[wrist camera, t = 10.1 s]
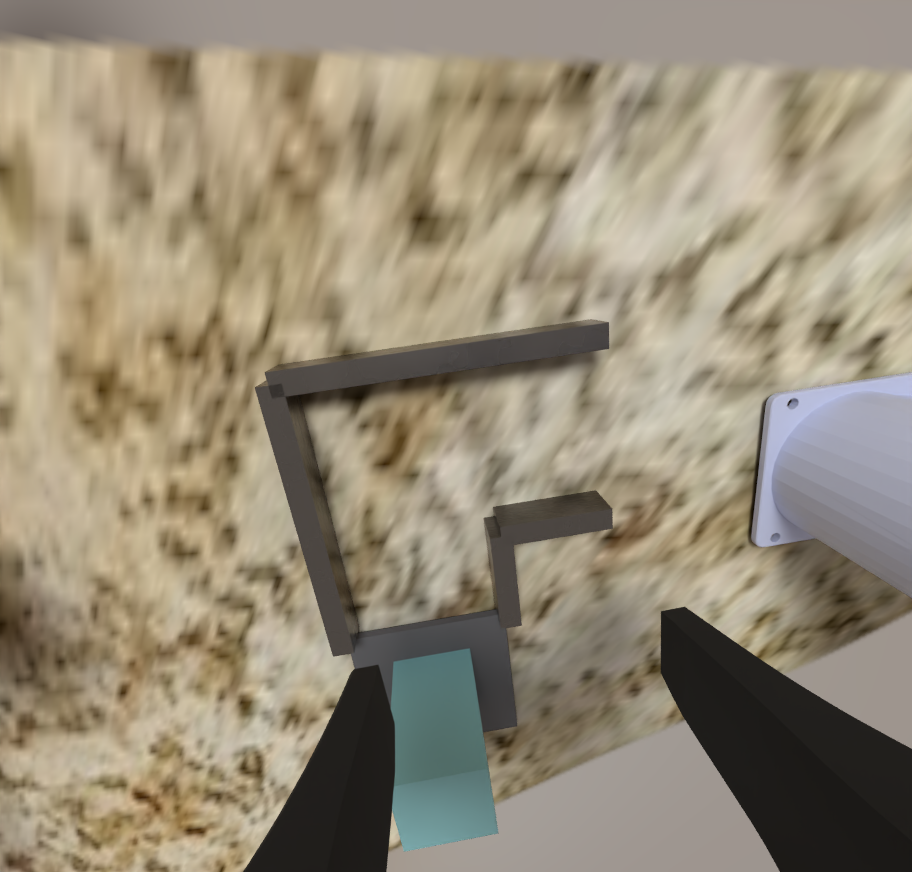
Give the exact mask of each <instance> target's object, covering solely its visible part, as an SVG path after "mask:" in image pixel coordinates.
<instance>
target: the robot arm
mask: <svg viewBox="0 0 912 872" xmlns="http://www.w3.org/2000/svg"><path fill="white" fill-rule="evenodd" d="M790 399H791V403H790V405H789V406H787V404H788V402H789V401H790ZM773 534H774V535H773ZM772 535H773V536H772ZM771 536H772V537H771ZM815 538H816V539H818V540H819V541H821V542H823V543H824V544H826V545H827V546H829V547H831V548H832V549H834V550H835V551H837V552H839V553H840V554H842V555H843V556H845V557H847V558H848V559H850V560H851V561H853V562H855V563H856V564H858V565H859V566H861V567H863V568H864V569H866V570H868V571H869V572H871V573H872V574H874V575H876V576H877V577H879V578H880V579H882V580H884V581H885V582H887V583H888V584H890V585H892V586H893V587H895V588H896V589H898V590H900V591H901V592H903V593H904V594H906V595H908V596H909V597H911V598H912V372H909V373H903V374H896V375H890V376H883V377H877V378H871V379H864V380H858V381H851V382H845V383H838V384H832V385H825V386H819V387H812V388H806V389H799V390H793V391H786V392H780V393H776V394H773V395H772V396H770V397H769V399H768V400H767V402H766V407H765V416H764V425H763V434H762V443H761V452H760V462H759V471H758V480H757V489H756V498H755V507H754V516H753V526H752V535H751V539H752V541H753V543H755V544H756V545H757V546H759V547H768V546H774V545H780V544H786V543H791V542H797V541H803V540H809V539H815ZM661 674H662V676H663V678H664V680H665V682H666V684H667V686H668V688H669V690H670V692H671V694H672V696H673V698H674V700H675V702H676V704H677V706H678V708H679V710H680V712H681V713H682V715H683V717H684V719H685V720H686V722H687V723H688V725H689V726H690V728H691V730H692V731H693V733H694V734H695V736H696V737H697V739H698V741H699V742H700V744H701V745H702V747H703V748H704V750H705V751H706V753H707V755H708V756H709V758H710V759H711V761H712V762H713V764H714V765H715V767H716V768H717V770H718V771H719V773H720V774H721V776H722V778H723V779H724V781H725V782H726V784H727V785H728V787H729V788H730V790H731V791H732V793H733V795H734V796H735V798H736V799H737V801H738V802H739V804H740V805H741V807H742V808H743V810H744V811H745V813H746V815H747V816H748V818H749V819H750V820H751V822H752V824H753V825H754V827H755V829H756V831H757V832H758V834H759V836H760V837H761V839H762V840H763V842H764V844H765V845H766V847H767V849H768V851H769V853H770V854H771V856H772V858H773V860H774V862H775V863H776V865H777V867H778V869H779V871H780V872H912V749H911V748H909V747H907V746H905V745H903V744H901V743H900V742H898V741H896V740H894V739H892V738H890V737H888V736H887V735H885V734H883V733H881V732H879V731H878V730H876V729H874V728H872V727H870V726H868V725H867V724H865V723H863V722H861V721H859V720H857V719H856V718H854V717H852V716H851V715H849V714H847V713H845V712H843V711H842V710H840V709H838V708H837V707H835V706H833V705H832V704H830V703H828V702H827V701H825V700H823V699H822V698H820V697H819V696H817V695H815V694H814V693H812V692H810V691H809V690H807V689H805V688H804V687H802V686H801V685H799V684H797V683H796V682H794V681H793V680H791V679H790V678H788V677H786V676H785V675H783V674H782V673H780V672H779V671H777V670H776V669H774V668H773V667H771V666H770V665H768V664H767V663H765V662H764V661H762V660H761V659H759V658H758V657H756V656H755V655H753V654H752V653H750V652H749V651H747V650H746V649H744V648H743V647H741V646H740V645H739V644H737V643H736V642H734V641H733V640H731V639H730V638H728V637H727V636H726V635H724V634H723V633H721V632H720V631H718V630H717V629H716V628H714V627H713V626H711V625H710V624H709V623H707V622H706V621H704V620H703V619H701V618H700V617H699V616H697V615H696V614H694V613H693V612H691V611H690V610H688V609H687V608H686V607H682V608H676V609H671V610H666V611H661ZM394 780H395V722H394V719H393V715H392V711H391V708H390V704H389V701H388V697H387V693H386V690H385V686H384V683H383V679H382V675H381V672H380V668H379V665H373V666H368V667H363V668H357V669H354V670H353V671H352V672H351V674H350V676H349V679H348V681H347V683H346V686H345V688H344V690H343V692H342V695H341V697H340V699H339V701H338V703H337V706H336V708H335V710H334V712H333V714H332V716H331V718H330V720H329V723H328V725H327V727H326V729H325V731H324V733H323V735H322V737H321V739H320V741H319V743H318V745H317V747H316V748H315V750H314V752H313V754H312V756H311V758H310V760H309V762H308V764H307V766H306V768H305V770H304V771H303V773H302V775H301V777H300V779H299V780H298V782H297V784H296V786H295V788H294V789H293V791H292V793H291V795H290V796H289V798H288V800H287V802H286V804H285V805H284V807H283V809H282V811H281V812H280V814H279V816H278V817H277V819H276V821H275V822H274V824H273V826H272V827H271V829H270V831H269V832H268V834H267V835H266V837H265V839H264V840H263V842H262V843H261V845H260V847H259V848H258V850H257V851H256V853H255V854H254V856H253V857H252V859H251V861H250V862H249V864H248V865H247V867H246V868H245V870H244V871H243V872H386V869H387V857H388V847H389V836H390V826H391V815H392V803H393V792H394Z"/></svg>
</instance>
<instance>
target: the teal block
mask: <svg viewBox="0 0 912 872" xmlns="http://www.w3.org/2000/svg"><path fill="white" fill-rule="evenodd" d="M391 711H392V715H393V719H394V722H395V780H394V792H393V803H392V810H393V814H394V818H395V821H396V825H397V828H398V832H399V835H400V839H401V843H402V846H403V850H404V851H410V850H415V849H420V848H425V847H430V846H436V845H441V844H446V843H450V842H456V841H461V840H466V839H472V838H476V837H482V836H487V835H492V834H497V833H498V828H497V821H496V814H495V808H494V801H493V795H492V788H491V781H490V775H489V768H488V762H487V755H486V748H485V742H484V735H483V729H482V722H481V716H480V709H479V702H478V696H477V690H476V684H475V677H474V671H473V665H472V659H471V652H470V648H468V649H463V650H457V651H451V652H446V653H440V654H434V655H429V656H423V657H417V658H412V659H406V660H400V661H395V662H394V663H393V680H392V696H391Z"/></svg>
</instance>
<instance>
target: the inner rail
mask: <svg viewBox="0 0 912 872" xmlns="http://www.w3.org/2000/svg"><path fill="white" fill-rule="evenodd" d="M493 512H494V516H493V517H487V518H484V524H485V532H486V540H487V548H488V556H489V564H490V572H491V580H492V588H493V596H494V603H495V607H496V611H497V615H498V619H499V623H500V627H501V629H504V628H510V627H516V626H522V624H521V614H520V604H519V594H518V585H517V575H516V565H515V555H514V545H517V544H523V543H529V542H535V541H541V540H547V539H553V538H559V537H565V536H571V535H577V534H583V533H589V532H595V531H601V530H607V529H613V525H612V508H611V507H610V506H609V505H608V504H607V502H606V501H605V500H604V499H603V498H602V497H601V496H600V495H599V493H598V492H597V491H589V492H583V493H577V494H571V495H565V496H558V497H552V498H546V499H540V500H534V501H527V502H521V503H515V504H509V505H503V506H496V507H493Z"/></svg>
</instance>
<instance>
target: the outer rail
mask: <svg viewBox="0 0 912 872" xmlns="http://www.w3.org/2000/svg"><path fill="white" fill-rule="evenodd" d="M604 349H609V322H604V321H598V320H592V319H590V320H583V321H576V322H570V323H563V324H556V325H549V326H542V327H535V328H528V329H521V330H514V331H507V332H501V333H494V334H487V335H480V336H473V337H466V338H459V339H452V340H445V341H438V342H432V343H425V344H418V345H411V346H404V347H397V348H390V349H383V350H376V351H369V352H363V353H356V354H349V355H342V356H335V357H328V358H321V359H314V360H307V361H300V362H294V363H287V364H280V365H277V366H275V367H274V368H272V369H270V370H268V371H266V372H265V375H266V379H267V380H266V381H265V382H263V383H262V384H260V385H258V386H257V387H255V390H256V393H257V397H258V400H259V404H260V407H261V411H262V414H263V417H264V421H265V424H266V428H267V431H268V435H269V438H270V441H271V445H272V448H273V452H274V455H275V459H276V462H277V465H278V469H279V472H280V476H281V479H282V483H283V486H284V489H285V493H286V496H287V500H288V503H289V507H290V510H291V513H292V517H293V520H294V524H295V527H296V531H297V534H298V537H299V541H300V544H301V548H302V551H303V555H304V558H305V561H306V565H307V568H308V572H309V575H310V579H311V582H312V585H313V589H314V592H315V596H316V599H317V603H318V606H319V609H320V613H321V616H322V620H323V623H324V627H325V630H326V634H327V637H328V640H329V644H330V647H331V651H332V654H333V656H339V655H345V654H351V653H355V647H356V641H357V635H358V629H359V624H358V620H357V616H356V612H355V608H354V605H353V601H352V597H351V593H350V589H349V585H348V581H347V577H346V574H345V570H344V566H343V562H342V558H341V554H340V550H339V547H338V543H337V539H336V535H335V531H334V527H333V523H332V519H331V516H330V512H329V508H328V504H327V500H326V496H325V492H324V489H323V485H322V481H321V477H320V473H319V469H318V465H317V461H316V458H315V454H314V450H313V446H312V442H311V438H310V434H309V430H308V427H307V423H306V419H305V415H304V411H303V407H302V403H301V400H300V396H299V395H300V394H306V393H313V392H320V391H327V390H334V389H340V388H347V387H354V386H361V385H367V384H374V383H381V382H388V381H394V380H401V379H408V378H415V377H421V376H428V375H435V374H442V373H448V372H455V371H462V370H469V369H476V368H482V367H489V366H496V365H503V364H509V363H516V362H523V361H530V360H536V359H543V358H550V357H557V356H563V355H570V354H577V353H584V352H591V351H597V350H604Z"/></svg>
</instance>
